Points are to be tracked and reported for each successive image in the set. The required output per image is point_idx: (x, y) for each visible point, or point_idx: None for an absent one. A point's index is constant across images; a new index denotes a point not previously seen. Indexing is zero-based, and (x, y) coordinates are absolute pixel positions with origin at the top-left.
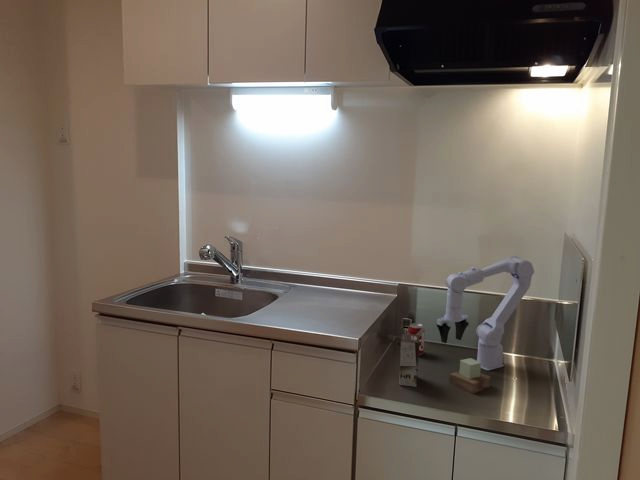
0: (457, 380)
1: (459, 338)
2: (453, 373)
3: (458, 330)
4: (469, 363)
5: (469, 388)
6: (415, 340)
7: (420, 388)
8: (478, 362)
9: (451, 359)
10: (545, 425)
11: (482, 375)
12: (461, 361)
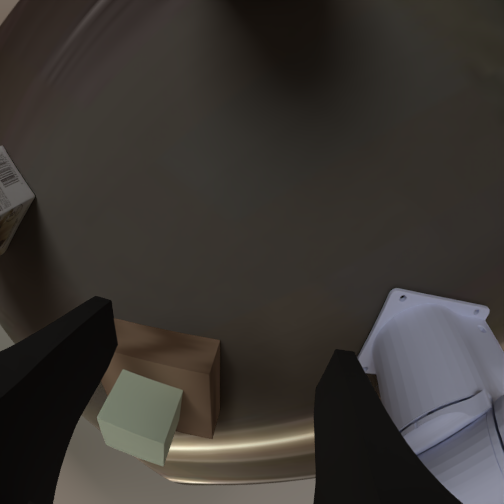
0: None
1: (318, 399)
2: None
3: (338, 464)
4: (113, 443)
5: None
6: None
7: (12, 266)
8: (157, 461)
9: (379, 164)
10: (167, 474)
11: (195, 423)
12: (99, 419)
